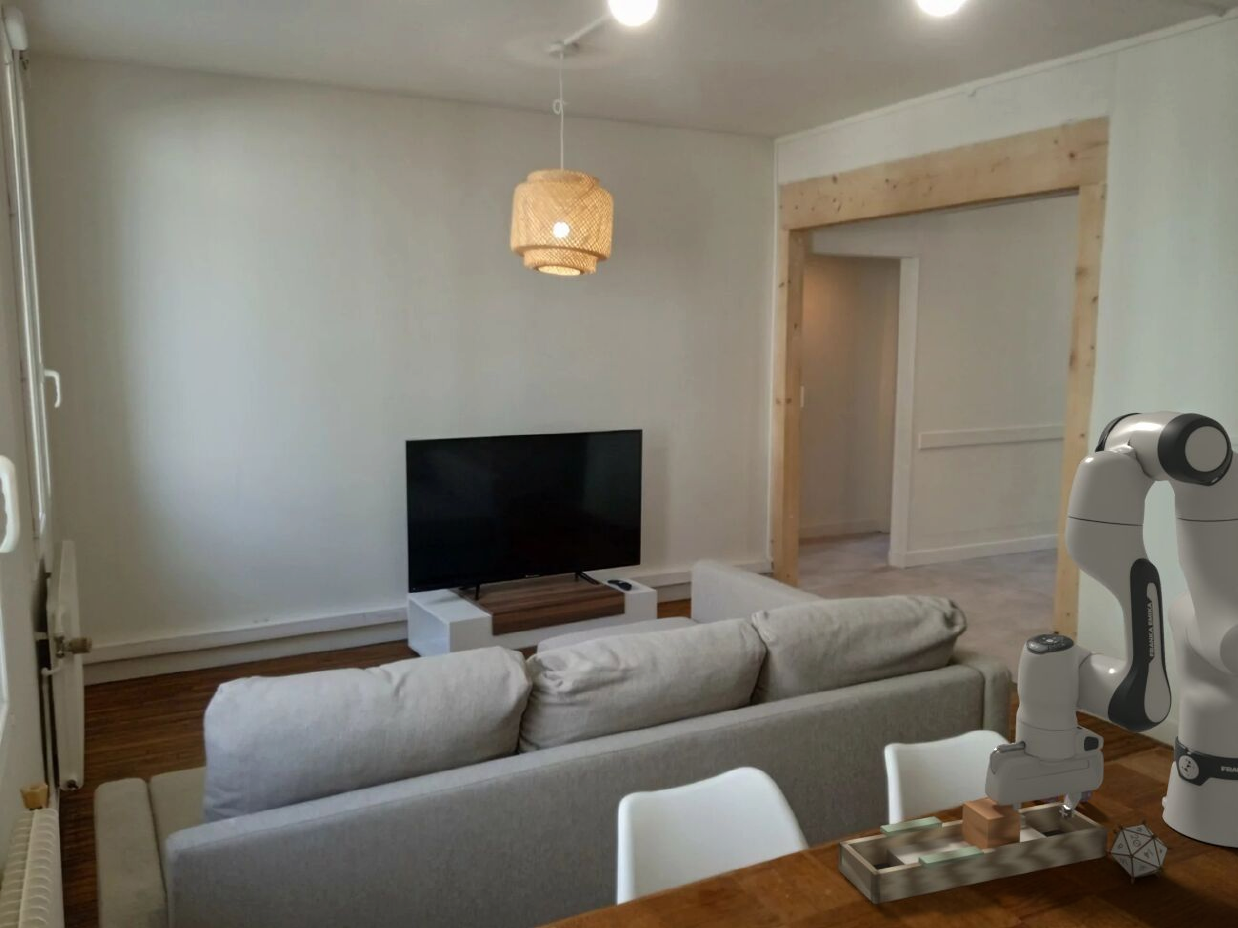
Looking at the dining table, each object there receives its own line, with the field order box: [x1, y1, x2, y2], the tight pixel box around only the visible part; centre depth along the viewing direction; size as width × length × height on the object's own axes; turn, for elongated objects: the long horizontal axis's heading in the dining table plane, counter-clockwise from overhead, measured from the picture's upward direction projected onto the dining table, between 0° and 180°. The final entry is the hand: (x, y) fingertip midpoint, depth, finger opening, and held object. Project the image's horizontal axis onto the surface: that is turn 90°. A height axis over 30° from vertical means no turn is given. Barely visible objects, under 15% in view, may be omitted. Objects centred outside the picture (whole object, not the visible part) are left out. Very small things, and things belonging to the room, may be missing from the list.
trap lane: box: [837, 801, 1109, 905], centre depth 151 cm, size 42×12×5 cm, turn 108°
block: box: [961, 797, 1021, 850], centre depth 151 cm, size 6×6×6 cm
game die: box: [1103, 818, 1175, 884], centre depth 147 cm, size 9×8×10 cm
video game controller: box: [1041, 790, 1094, 805], centre depth 170 cm, size 10×5×7 cm, turn 83°
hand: (1042, 821), depth 155 cm, fingers open, 8 cm apart
